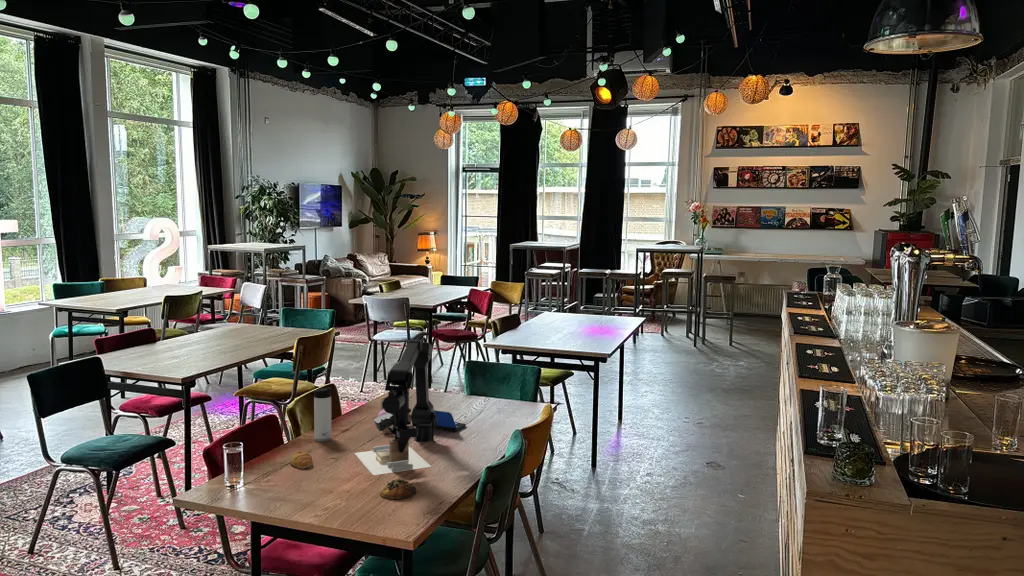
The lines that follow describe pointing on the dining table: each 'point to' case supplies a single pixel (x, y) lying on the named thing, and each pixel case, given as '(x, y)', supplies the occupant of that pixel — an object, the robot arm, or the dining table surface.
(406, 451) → the walnut panel
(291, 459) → the pastry
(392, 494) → the bread roll
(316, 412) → the travel mug
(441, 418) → the handheld game console
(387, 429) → the cupcake
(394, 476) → the dining table surface
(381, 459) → the offcut stack
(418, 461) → the rack
